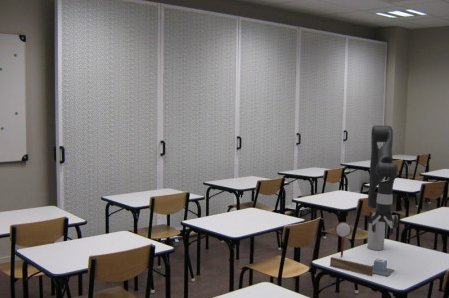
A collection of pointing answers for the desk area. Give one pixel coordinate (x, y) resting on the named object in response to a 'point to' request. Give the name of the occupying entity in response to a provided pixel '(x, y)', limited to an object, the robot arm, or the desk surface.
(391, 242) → the desk surface
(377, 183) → the robot arm
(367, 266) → the bar
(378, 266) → the letter cube
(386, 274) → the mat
